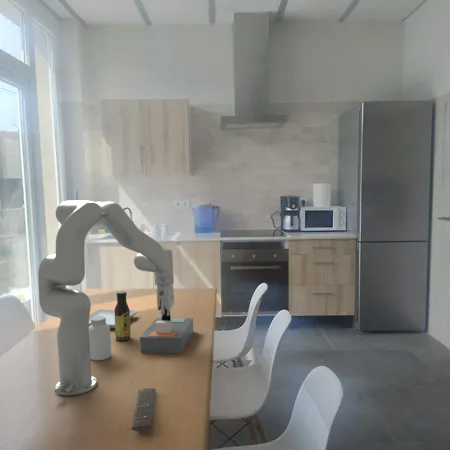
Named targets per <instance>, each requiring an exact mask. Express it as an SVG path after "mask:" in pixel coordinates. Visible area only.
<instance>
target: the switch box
mask: <svg viewBox="0 0 450 450" xmlns="http://www.w3.org/2000/svg"><path fill="white" fill-rule="evenodd" d="M157 321H162V317H156V318H155V320H153V322H152V323H151V324H150V325H149V326H148V327H147V329H146V330H145V331H144V332H143V333H142V334H141V335H140V337H139V341H140V342H139V343H140V345H139V346H140V347H139V348H140V353H147V354H150V353H153V354H154V353H156V354H157V353H158V354H160V353H161V354H182V353H183V351H184V350H185V348H186V346H187V344H188V343H189V341H190V338H191V337H192V335H193V333H194V317H188V318H187V317H171V321H172V329H173V331H172V332H171V333H156V327H155V323H156V322H157Z"/></svg>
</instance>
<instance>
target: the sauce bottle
mask: <svg viewBox="0 0 450 450" xmlns="http://www.w3.org/2000/svg"><path fill="white" fill-rule="evenodd" d="M116 299H117V301H116V305H115V307H114V310H115V328H114V335H115V340H116V341H120V342H124V341H128V340H129V339H131V318H130V311H131V309H130V308H129V305H128V302H127V291H124V290H123V291H117V292H116Z"/></svg>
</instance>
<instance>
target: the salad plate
mask: <svg viewBox="0 0 450 450" xmlns="http://www.w3.org/2000/svg"><path fill="white" fill-rule="evenodd" d="M137 313H138V311H137V310H130V319H131V318H133V317H134V316H135V315H136V314H137ZM97 316H104V317H105V318H106V323H107V324H108V325H109V326H110V329H115V309H98V310H96V311H94V312H92V313H90V315H89V327H90V326H91V325H92V324H91V318H93V317H97Z"/></svg>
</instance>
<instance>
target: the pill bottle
mask: <svg viewBox="0 0 450 450" xmlns="http://www.w3.org/2000/svg"><path fill="white" fill-rule="evenodd" d="M91 324H92V325H91V326H90V327H89V341H90V359H91V360H92V361H103V360H107V359H109V358H110V357H111V356H112V342H111V341H112V340H111V339H112V337H111V328H110V326H109V325H108V324H107V323H106V318H105V317H104V316H97V317H93V318H91Z"/></svg>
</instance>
